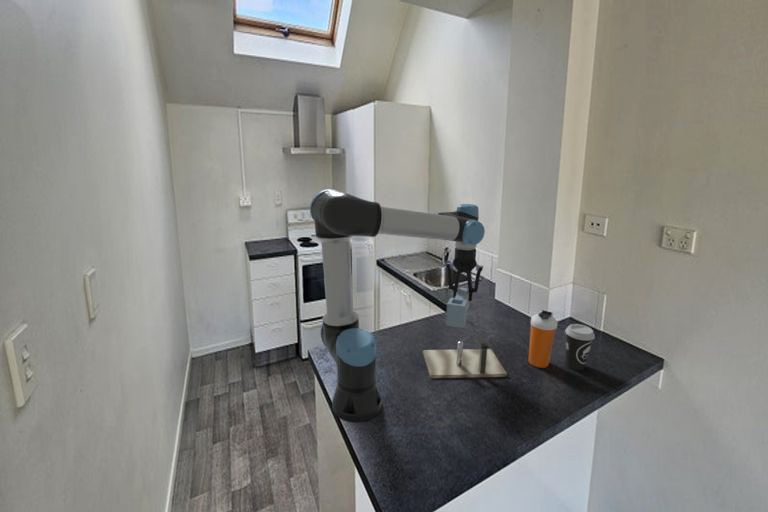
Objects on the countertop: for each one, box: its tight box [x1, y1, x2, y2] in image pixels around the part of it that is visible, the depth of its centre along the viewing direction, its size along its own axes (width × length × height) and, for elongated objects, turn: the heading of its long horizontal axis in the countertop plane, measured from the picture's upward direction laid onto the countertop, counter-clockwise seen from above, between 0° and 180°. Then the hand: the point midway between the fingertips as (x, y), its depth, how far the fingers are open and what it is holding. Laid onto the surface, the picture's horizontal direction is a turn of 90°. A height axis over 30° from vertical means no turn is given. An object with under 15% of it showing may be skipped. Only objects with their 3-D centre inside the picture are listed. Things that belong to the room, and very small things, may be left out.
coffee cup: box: [564, 323, 596, 371], centre depth 136 cm, size 10×10×15 cm
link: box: [445, 287, 469, 329], centre depth 134 cm, size 17×6×8 cm, turn 159°
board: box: [422, 348, 508, 379], centre depth 138 cm, size 27×17×1 cm, turn 93°
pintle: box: [456, 340, 464, 367], centre depth 134 cm, size 2×2×10 cm
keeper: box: [474, 335, 490, 373], centre depth 132 cm, size 3×7×12 cm, turn 3°
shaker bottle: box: [528, 309, 558, 369], centre depth 137 cm, size 9×9×20 cm
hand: (462, 307), depth 140 cm, fingers closed on link, 3 cm apart
